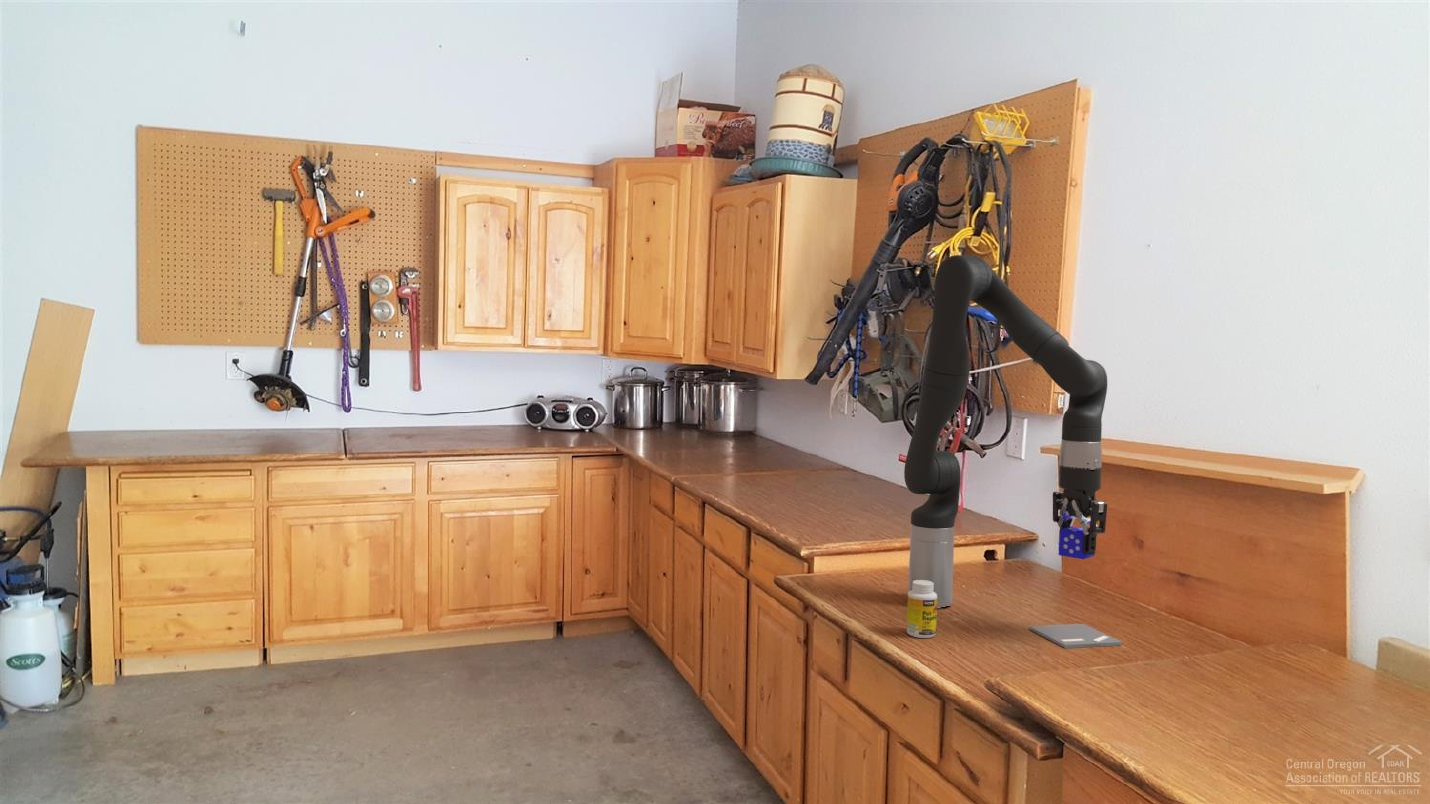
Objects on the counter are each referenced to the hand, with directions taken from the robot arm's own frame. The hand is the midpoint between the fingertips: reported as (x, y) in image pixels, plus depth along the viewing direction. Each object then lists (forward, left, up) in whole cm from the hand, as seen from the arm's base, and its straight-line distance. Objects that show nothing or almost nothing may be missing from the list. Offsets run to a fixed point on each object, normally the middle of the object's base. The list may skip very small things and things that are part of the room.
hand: (1077, 550), depth 174 cm
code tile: (0, 0, -17) cm, 17 cm away
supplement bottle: (-6, -29, -17) cm, 34 cm away
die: (0, 0, -1) cm, 1 cm away
